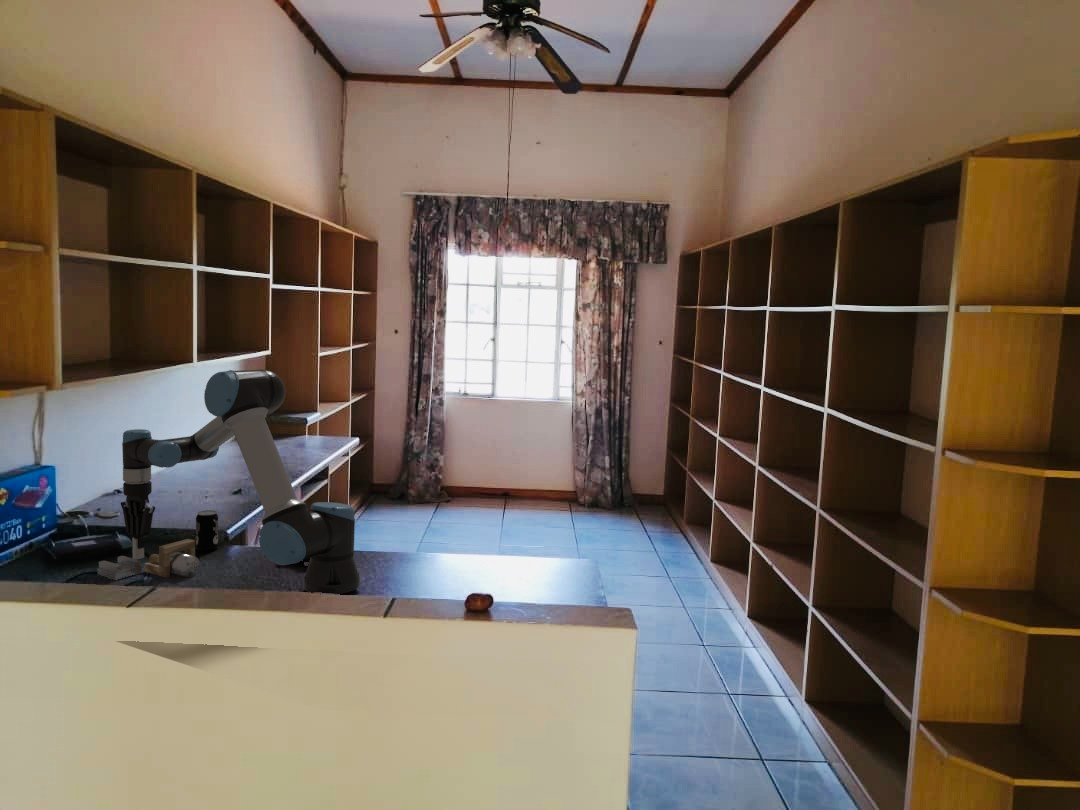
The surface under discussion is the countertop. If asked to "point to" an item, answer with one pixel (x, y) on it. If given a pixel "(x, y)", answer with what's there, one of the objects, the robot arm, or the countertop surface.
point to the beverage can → (207, 530)
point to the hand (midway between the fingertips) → (138, 558)
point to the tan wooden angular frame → (164, 557)
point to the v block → (120, 568)
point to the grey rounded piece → (183, 564)
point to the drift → (154, 559)
